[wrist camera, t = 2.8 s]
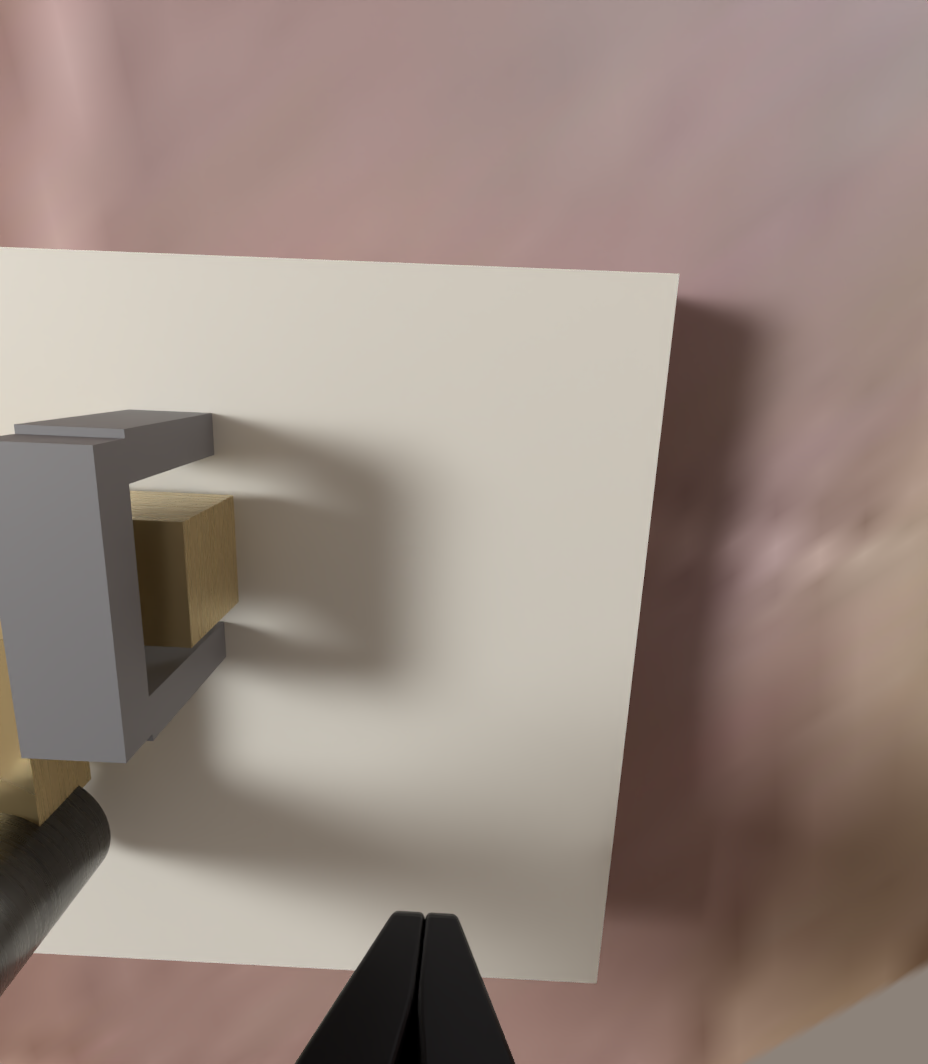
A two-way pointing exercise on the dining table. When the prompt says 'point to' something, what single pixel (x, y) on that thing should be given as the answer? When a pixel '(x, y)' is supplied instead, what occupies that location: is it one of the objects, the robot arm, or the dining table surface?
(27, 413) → the door board
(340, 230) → the dining table surface
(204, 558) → the bolt
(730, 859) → the dining table surface
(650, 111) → the dining table surface
